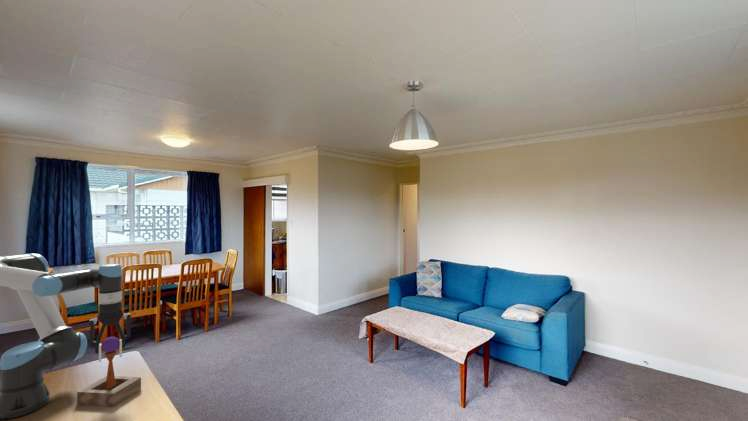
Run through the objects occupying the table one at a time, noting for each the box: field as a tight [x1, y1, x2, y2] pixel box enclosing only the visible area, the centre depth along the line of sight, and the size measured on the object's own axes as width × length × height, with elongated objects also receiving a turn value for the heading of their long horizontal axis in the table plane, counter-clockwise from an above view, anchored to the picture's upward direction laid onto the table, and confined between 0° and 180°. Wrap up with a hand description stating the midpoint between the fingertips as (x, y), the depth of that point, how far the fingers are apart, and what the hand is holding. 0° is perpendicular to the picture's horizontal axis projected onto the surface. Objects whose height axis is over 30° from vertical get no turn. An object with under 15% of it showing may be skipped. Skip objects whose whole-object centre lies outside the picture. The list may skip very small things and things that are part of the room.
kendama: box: [101, 336, 120, 388], centre depth 135 cm, size 6×6×20 cm
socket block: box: [76, 375, 142, 407], centre depth 135 cm, size 16×13×5 cm
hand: (110, 358), depth 135 cm, fingers closed on kendama, 6 cm apart
